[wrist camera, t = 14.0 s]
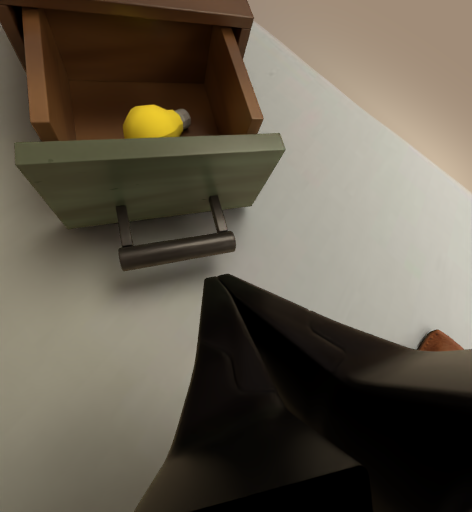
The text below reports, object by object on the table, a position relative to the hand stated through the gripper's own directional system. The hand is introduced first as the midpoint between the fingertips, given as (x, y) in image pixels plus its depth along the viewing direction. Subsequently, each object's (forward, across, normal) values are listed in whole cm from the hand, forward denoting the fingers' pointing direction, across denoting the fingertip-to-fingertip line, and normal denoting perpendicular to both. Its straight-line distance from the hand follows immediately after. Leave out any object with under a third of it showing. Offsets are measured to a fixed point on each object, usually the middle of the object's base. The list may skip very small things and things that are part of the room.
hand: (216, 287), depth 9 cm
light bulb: (+15, -1, -3) cm, 16 cm away
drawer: (+15, 0, -2) cm, 15 cm away
